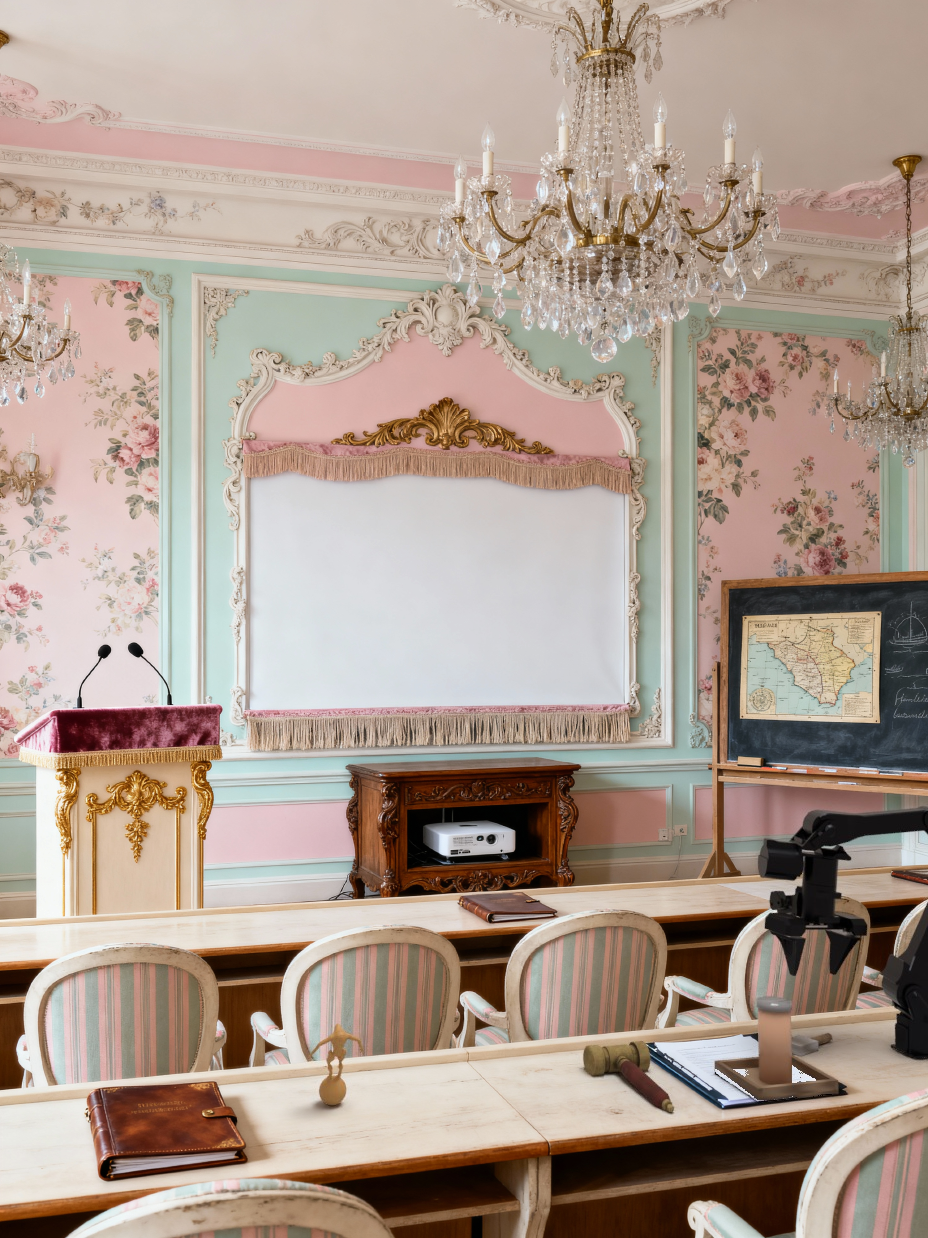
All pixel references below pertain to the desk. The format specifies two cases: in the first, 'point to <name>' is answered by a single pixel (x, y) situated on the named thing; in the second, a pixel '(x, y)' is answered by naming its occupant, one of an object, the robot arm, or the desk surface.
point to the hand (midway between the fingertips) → (813, 975)
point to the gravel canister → (774, 1040)
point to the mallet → (808, 1043)
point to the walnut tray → (779, 1091)
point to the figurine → (334, 1086)
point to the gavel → (627, 1068)
